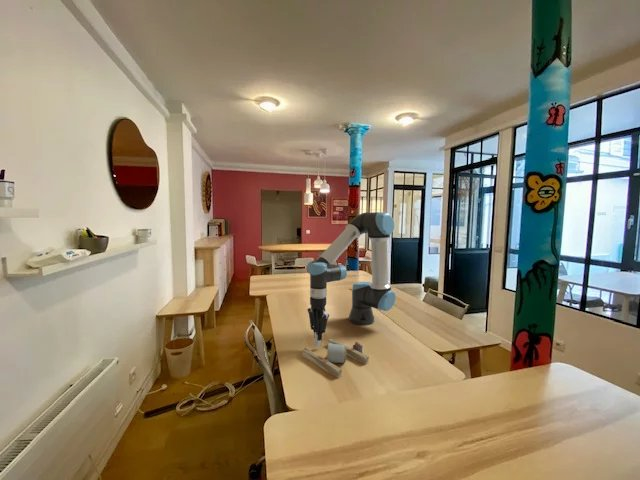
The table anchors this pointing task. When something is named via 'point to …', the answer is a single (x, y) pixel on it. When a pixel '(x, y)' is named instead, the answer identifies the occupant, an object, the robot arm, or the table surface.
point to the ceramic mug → (336, 353)
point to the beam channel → (331, 368)
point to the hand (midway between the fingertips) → (317, 346)
